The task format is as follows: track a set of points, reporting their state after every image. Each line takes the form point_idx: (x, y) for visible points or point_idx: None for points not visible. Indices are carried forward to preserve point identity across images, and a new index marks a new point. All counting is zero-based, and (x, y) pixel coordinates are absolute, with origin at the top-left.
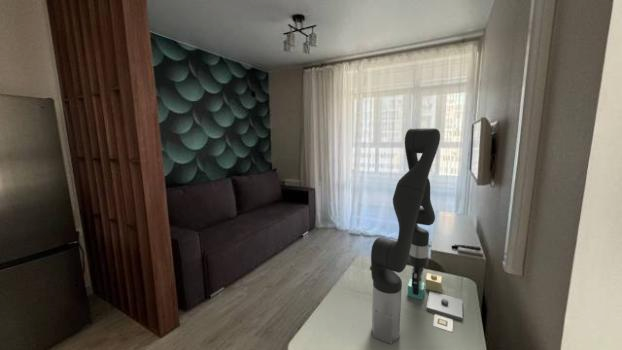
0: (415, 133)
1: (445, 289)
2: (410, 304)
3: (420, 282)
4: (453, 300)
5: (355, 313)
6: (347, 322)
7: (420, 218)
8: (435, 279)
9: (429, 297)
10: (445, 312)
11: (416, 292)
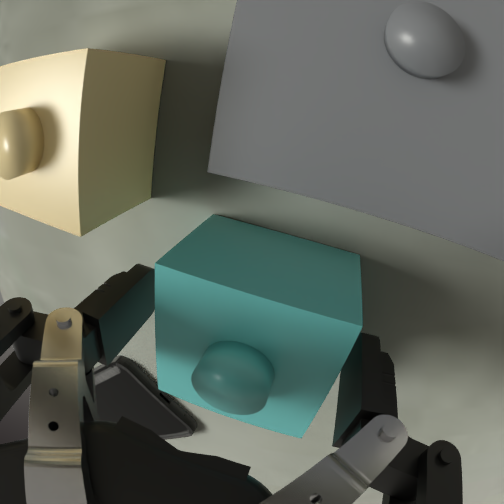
0: None
1: (105, 26)
2: (434, 356)
3: (178, 317)
4: None
5: None
6: (493, 499)
7: None
8: (44, 121)
9: (349, 196)
10: None
11: (390, 377)
